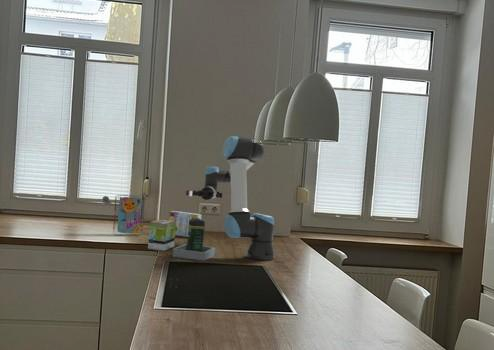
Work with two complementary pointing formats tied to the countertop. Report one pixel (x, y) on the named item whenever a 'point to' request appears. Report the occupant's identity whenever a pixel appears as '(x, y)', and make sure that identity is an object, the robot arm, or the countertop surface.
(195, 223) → the coffee jar
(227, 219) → the robot arm
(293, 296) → the countertop surface
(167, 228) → the tea box
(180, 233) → the snack box
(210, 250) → the tray
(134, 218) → the box
